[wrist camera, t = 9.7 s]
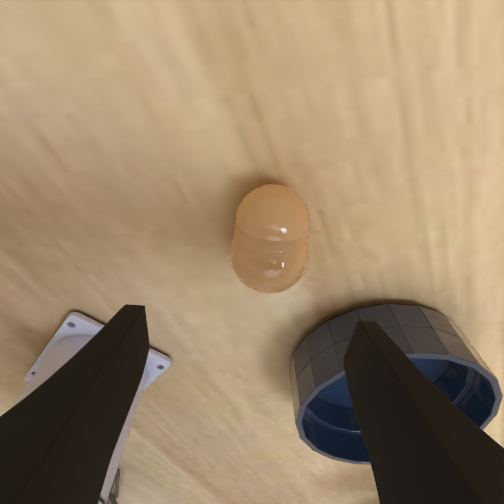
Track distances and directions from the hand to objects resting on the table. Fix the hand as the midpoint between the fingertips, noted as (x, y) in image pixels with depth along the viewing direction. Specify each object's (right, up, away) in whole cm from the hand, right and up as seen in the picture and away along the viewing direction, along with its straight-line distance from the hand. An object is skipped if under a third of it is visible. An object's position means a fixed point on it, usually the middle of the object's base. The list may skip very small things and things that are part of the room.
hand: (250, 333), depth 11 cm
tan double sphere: (+1, +5, +7) cm, 8 cm away
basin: (+9, -6, +13) cm, 17 cm away
